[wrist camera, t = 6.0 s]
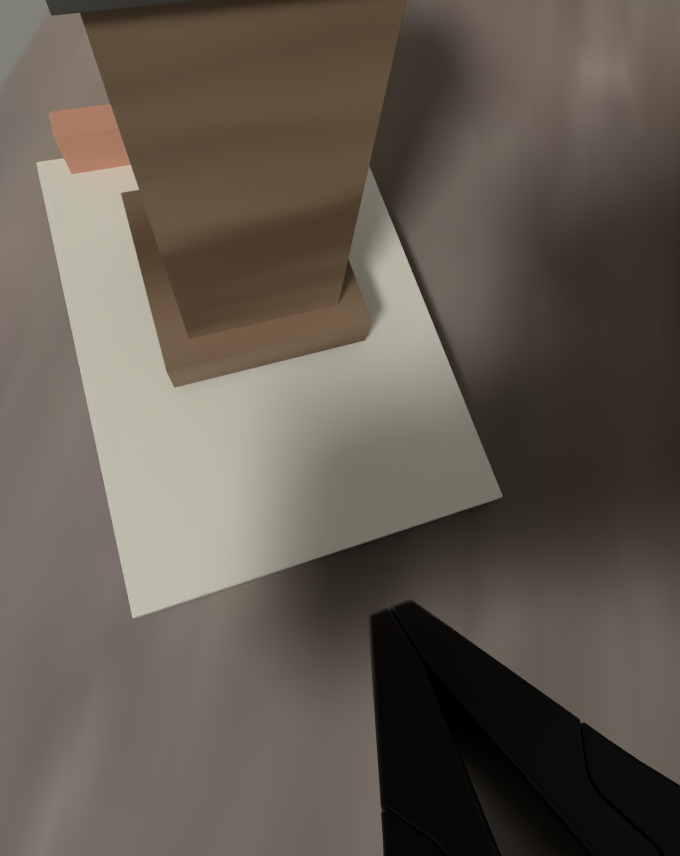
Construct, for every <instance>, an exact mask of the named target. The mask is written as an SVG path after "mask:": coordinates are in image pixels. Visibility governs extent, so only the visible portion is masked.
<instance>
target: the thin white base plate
mask: <svg viewBox="0 0 680 856" xmlns="http://www.w3.org/2000/svg"><path fill="white" fill-rule="evenodd" d="M48 113H49V118H50V122H51V126H52V131H53V135H54V139H55V141H56V143H57V145H58V147H59V149H60V151H61V153H62V155H63V157H64V158H62V159H56V160H49V161H43V162H36V163H37V168H38V173H39V178H40V182H41V187H42V192H43V196H44V201H45V206H46V211H47V215H48V220H49V225H50V230H51V234H52V239H53V244H54V248H55V253H56V258H57V263H58V267H59V272H60V277H61V282H62V286H63V291H64V296H65V300H66V305H67V310H68V315H69V319H70V324H71V329H72V334H73V338H74V343H75V348H76V353H77V357H78V362H79V367H80V371H81V376H82V381H83V386H84V390H85V395H86V400H87V405H88V409H89V414H90V419H91V423H92V428H93V433H94V438H95V442H96V447H97V452H98V457H99V461H100V466H101V471H102V475H103V480H104V485H105V490H106V494H107V499H108V504H109V509H110V513H111V518H112V523H113V528H114V532H115V537H116V542H117V546H118V551H119V556H120V561H121V565H122V570H123V575H124V580H125V584H126V589H127V594H128V598H129V603H130V608H131V613H132V617H133V618H136V617H142V616H145V615H148V614H151V613H154V612H157V611H160V610H163V609H166V608H169V607H172V606H175V605H178V604H181V603H184V602H187V601H190V600H193V599H196V598H199V597H202V596H206V595H209V594H212V593H215V592H218V591H221V590H224V589H227V588H230V587H233V586H236V585H239V584H242V583H245V582H248V581H251V580H254V579H257V578H260V577H263V576H266V575H269V574H272V573H276V572H279V571H282V570H285V569H288V568H291V567H294V566H297V565H300V564H303V563H306V562H309V561H312V560H315V559H318V558H321V557H324V556H327V555H330V554H333V553H336V552H339V551H343V550H346V549H349V548H352V547H355V546H358V545H361V544H364V543H367V542H370V541H373V540H376V539H379V538H382V537H385V536H388V535H391V534H394V533H397V532H400V531H403V530H406V529H409V528H413V527H416V526H419V525H422V524H425V523H428V522H431V521H434V520H437V519H440V518H443V517H446V516H449V515H452V514H455V513H458V512H461V511H464V510H467V509H470V508H473V507H476V506H480V505H483V504H486V503H489V502H491V501H494V500H496V499H499V498H501V497H503V496H502V493H501V491H500V488H499V486H498V483H497V481H496V478H495V476H494V473H493V471H492V468H491V466H490V463H489V461H488V458H487V456H486V453H485V451H484V449H483V446H482V444H481V441H480V439H479V436H478V434H477V431H476V429H475V426H474V424H473V421H472V419H471V416H470V414H469V411H468V409H467V406H466V404H465V401H464V399H463V397H462V394H461V392H460V389H459V387H458V384H457V382H456V379H455V377H454V374H453V372H452V369H451V367H450V364H449V362H448V359H447V357H446V354H445V352H444V349H443V347H442V345H441V342H440V340H439V337H438V335H437V332H436V330H435V327H434V325H433V322H432V320H431V317H430V315H429V312H428V310H427V307H426V305H425V302H424V300H423V298H422V295H421V293H420V290H419V288H418V285H417V283H416V280H415V278H414V275H413V273H412V270H411V268H410V265H409V263H408V260H407V258H406V255H405V253H404V250H403V248H402V246H401V243H400V241H399V238H398V236H397V233H396V231H395V228H394V226H393V223H392V221H391V218H390V216H389V213H388V211H387V208H386V206H385V203H384V201H383V198H382V196H381V194H380V191H379V189H378V186H377V184H376V181H375V179H374V176H373V174H372V171H371V169H370V166H369V169H368V173H367V178H366V182H365V187H364V191H363V196H362V200H361V205H360V209H359V213H358V218H357V222H356V227H355V231H354V236H353V240H352V245H351V249H350V254H349V258H348V259H349V262H350V264H351V267H352V270H353V272H354V275H355V278H356V280H357V283H358V286H359V288H360V291H361V294H362V297H363V299H364V302H365V305H366V307H367V310H368V313H369V315H370V318H371V321H372V324H371V326H370V329H369V332H368V335H367V337H366V340H365V341H361V342H357V343H353V344H349V345H345V346H341V347H337V348H333V349H329V350H325V351H321V352H317V353H313V354H309V355H305V356H301V357H297V358H293V359H288V360H284V361H280V362H276V363H272V364H268V365H264V366H260V367H256V368H252V369H248V370H244V371H240V372H236V373H232V374H228V375H224V376H220V377H216V378H212V379H208V380H203V381H199V382H195V383H191V384H187V385H183V386H179V387H175V388H174V386H173V384H172V382H171V380H170V378H169V376H168V374H167V371H166V368H165V364H164V360H163V356H162V352H161V348H160V344H159V340H158V336H157V332H156V328H155V325H154V321H153V317H152V313H151V309H150V305H149V301H148V297H147V293H146V289H145V285H144V282H143V278H142V274H141V270H140V266H139V262H138V258H137V254H136V250H135V246H134V243H133V239H132V235H131V231H130V227H129V223H128V219H127V215H126V211H125V207H124V203H123V200H122V196H121V193H123V192H129V191H135V190H139V188H138V185H137V182H136V179H135V176H134V173H133V170H132V167H131V164H130V161H129V158H128V155H127V152H126V149H125V146H124V143H123V140H122V137H121V134H120V131H119V128H118V125H117V122H116V119H115V116H114V113H113V110H112V107H111V104H106V105H98V106H91V107H84V108H76V109H69V110H62V111H55V112H48Z"/></svg>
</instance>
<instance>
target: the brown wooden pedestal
mask: <svg viewBox="0 0 680 856" xmlns="http://www.w3.org/2000/svg"><path fill="white" fill-rule="evenodd" d="M46 2H47V5H48V7H49V10H50V13H51V15H61V14H71V13H80V14H81V17H82V20H83V23H84V26H85V29H86V32H87V35H88V38H89V41H90V44H91V47H92V50H93V53H94V56H95V59H96V62H97V65H98V68H99V71H100V74H101V77H102V80H103V83H104V86H105V89H106V92H107V95H108V98H109V101H110V104H111V107H112V110H113V113H114V116H115V119H116V122H117V125H118V128H119V131H120V134H121V137H122V140H123V143H124V146H125V149H126V152H127V155H128V158H129V161H130V164H131V167H132V170H133V173H134V176H135V179H136V182H137V185H138V188H139V190H135V191H129V192H123V193H121V196H122V200H123V203H124V207H125V211H126V215H127V219H128V223H129V227H130V231H131V235H132V239H133V243H134V246H135V250H136V254H137V258H138V262H139V266H140V270H141V274H142V278H143V282H144V285H145V289H146V293H147V297H148V301H149V305H150V309H151V313H152V317H153V321H154V325H155V328H156V332H157V336H158V340H159V344H160V348H161V352H162V356H163V360H164V364H165V368H166V371H167V374H168V376H169V378H170V380H171V382H172V384H173V386H174V388H175V387H179V386H183V385H187V384H191V383H195V382H199V381H203V380H208V379H212V378H216V377H220V376H224V375H228V374H232V373H236V372H240V371H244V370H248V369H252V368H256V367H260V366H264V365H268V364H272V363H276V362H280V361H284V360H288V359H293V358H297V357H301V356H305V355H309V354H313V353H317V352H321V351H325V350H329V349H333V348H337V347H341V346H345V345H349V344H353V343H357V342H361V341H365V340H366V337H367V335H368V332H369V329H370V326H371V324H372V321H371V318H370V315H369V313H368V310H367V307H366V305H365V302H364V299H363V297H362V294H361V291H360V288H359V286H358V283H357V280H356V278H355V275H354V272H353V270H352V267H351V264H350V262H349V259H348V258H349V254H350V249H351V245H352V240H353V236H354V231H355V227H356V222H357V218H358V213H359V209H360V205H361V200H362V196H363V191H364V187H365V182H366V178H367V173H368V169H369V164H370V160H371V156H372V151H373V147H374V142H375V138H376V133H377V129H378V124H379V120H380V115H381V111H382V107H383V102H384V98H385V93H386V89H387V84H388V80H389V75H390V71H391V66H392V62H393V58H394V53H395V49H396V44H397V40H398V35H399V31H400V26H401V22H402V17H403V13H404V9H405V4H406V0H46Z"/></svg>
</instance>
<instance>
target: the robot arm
mask: <svg viewBox="0 0 680 856" xmlns="http://www.w3.org/2000/svg"><path fill="white" fill-rule="evenodd" d="M368 623H369V638H370V653H371V667H372V682H373V697H374V712H375V726H376V741H377V756H378V770H379V785H380V800H381V809H382V812H381V819H382V833H383V854H384V856H680V785H679V784H677V783H675V782H674V781H672V780H670V779H669V778H667V777H665V776H664V775H662V774H661V773H659V772H657V771H656V770H654V769H652V768H651V767H649V766H647V765H646V764H644V763H643V762H641V761H639V760H638V759H636V758H635V757H633V756H632V755H631V754H629V753H628V752H626V751H625V750H623V749H622V748H620V747H619V746H617V745H616V744H614V743H613V742H611V741H610V740H608V739H607V738H605V737H604V736H603V735H601V734H600V733H598V732H597V731H596V730H594V729H593V728H592V727H590V726H589V725H587V724H586V723H580V720H579V718H577V717H576V716H574V715H573V714H572V713H570V712H569V711H567V710H566V709H565V708H563V707H562V706H560V705H559V704H558V703H556V702H555V701H553V700H552V699H551V698H549V697H548V696H546V695H545V694H543V693H542V692H541V691H539V690H538V689H536V688H535V687H534V686H532V685H531V684H529V683H528V682H527V681H525V680H524V679H522V678H521V677H520V676H518V675H517V674H515V673H514V672H513V671H511V670H510V669H508V668H507V667H506V666H504V665H503V664H501V663H500V662H498V661H497V660H496V659H494V658H493V657H491V656H490V655H489V654H487V653H486V652H484V651H483V650H482V649H480V648H479V647H477V646H476V645H475V644H473V643H472V642H470V641H469V640H468V639H466V638H465V637H463V636H462V635H461V634H459V633H458V632H456V631H455V630H453V629H452V628H451V627H449V626H448V625H446V624H445V623H444V622H442V621H441V620H439V619H438V618H437V617H435V616H434V615H432V614H431V613H430V612H428V611H427V610H425V609H424V608H423V607H421V606H420V605H418V604H417V603H416V602H414V601H412V600H406V601H403V602H400V603H398V604H395V605H393V606H391V608H390V609H389V608H384V609H381V610H378V611H375V612H372V613H370V614H369V616H368Z"/></svg>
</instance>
